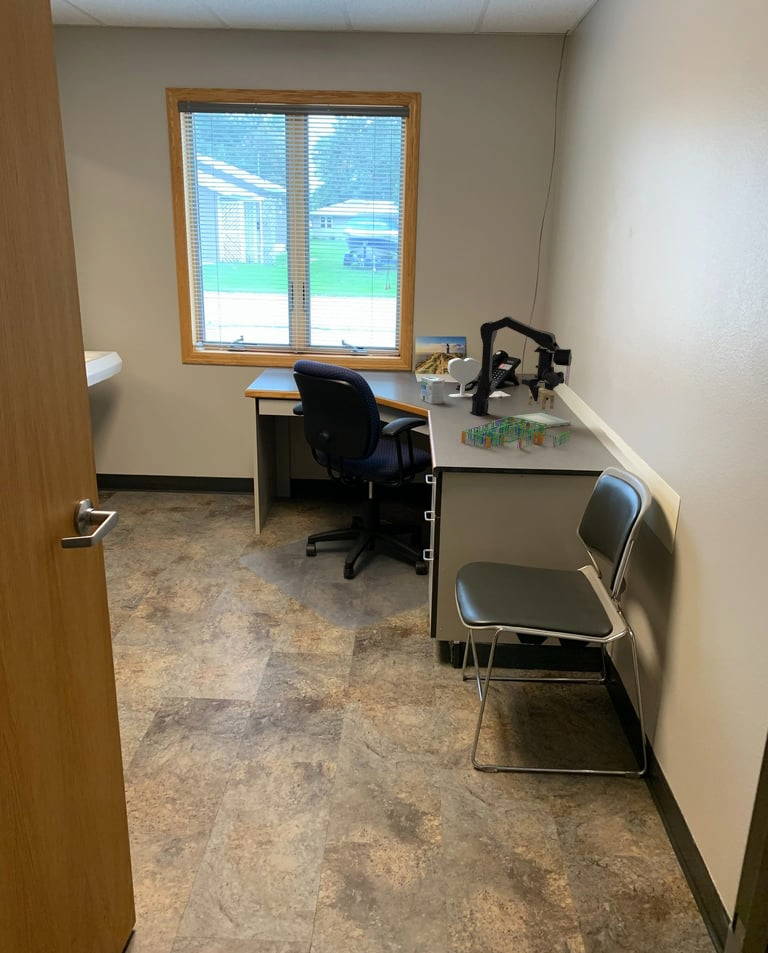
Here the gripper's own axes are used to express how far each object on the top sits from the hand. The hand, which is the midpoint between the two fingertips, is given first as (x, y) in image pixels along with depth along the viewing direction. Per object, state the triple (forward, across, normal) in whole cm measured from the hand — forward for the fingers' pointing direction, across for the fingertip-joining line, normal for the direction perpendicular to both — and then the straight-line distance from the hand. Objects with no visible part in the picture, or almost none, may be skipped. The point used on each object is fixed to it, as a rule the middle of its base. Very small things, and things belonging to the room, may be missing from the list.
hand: (541, 400), depth 314 cm
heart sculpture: (+10, +1, +57) cm, 58 cm away
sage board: (+9, 0, 0) cm, 9 cm away
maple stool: (+2, 0, 0) cm, 2 cm away
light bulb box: (+10, -20, +52) cm, 56 cm away
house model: (+10, -29, -20) cm, 36 cm away
